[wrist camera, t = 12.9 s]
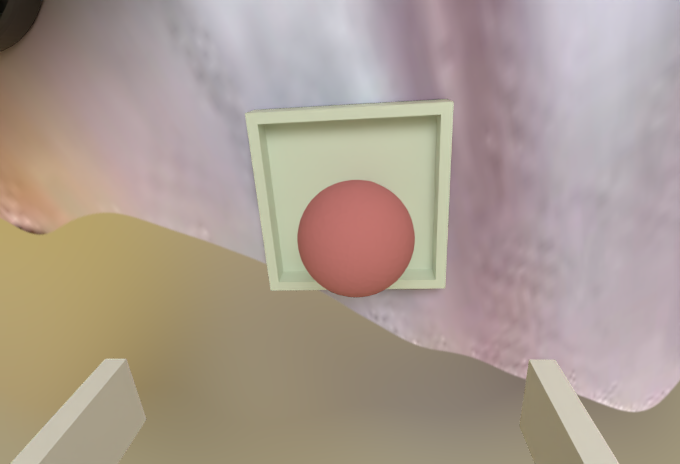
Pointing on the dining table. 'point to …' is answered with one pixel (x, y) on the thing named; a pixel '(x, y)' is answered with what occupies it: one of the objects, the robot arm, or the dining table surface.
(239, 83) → the dining table surface
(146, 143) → the dining table surface
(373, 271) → the light bulb
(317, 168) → the tray
